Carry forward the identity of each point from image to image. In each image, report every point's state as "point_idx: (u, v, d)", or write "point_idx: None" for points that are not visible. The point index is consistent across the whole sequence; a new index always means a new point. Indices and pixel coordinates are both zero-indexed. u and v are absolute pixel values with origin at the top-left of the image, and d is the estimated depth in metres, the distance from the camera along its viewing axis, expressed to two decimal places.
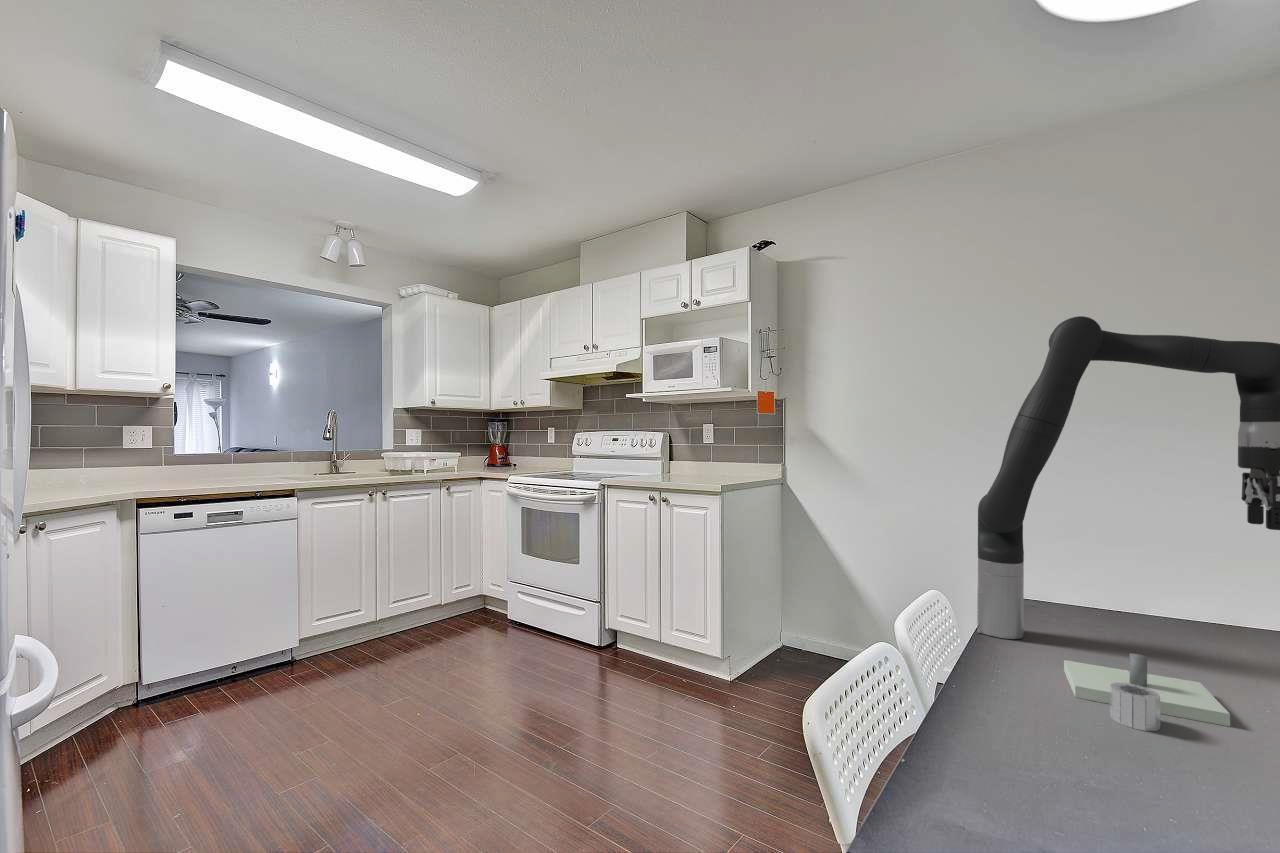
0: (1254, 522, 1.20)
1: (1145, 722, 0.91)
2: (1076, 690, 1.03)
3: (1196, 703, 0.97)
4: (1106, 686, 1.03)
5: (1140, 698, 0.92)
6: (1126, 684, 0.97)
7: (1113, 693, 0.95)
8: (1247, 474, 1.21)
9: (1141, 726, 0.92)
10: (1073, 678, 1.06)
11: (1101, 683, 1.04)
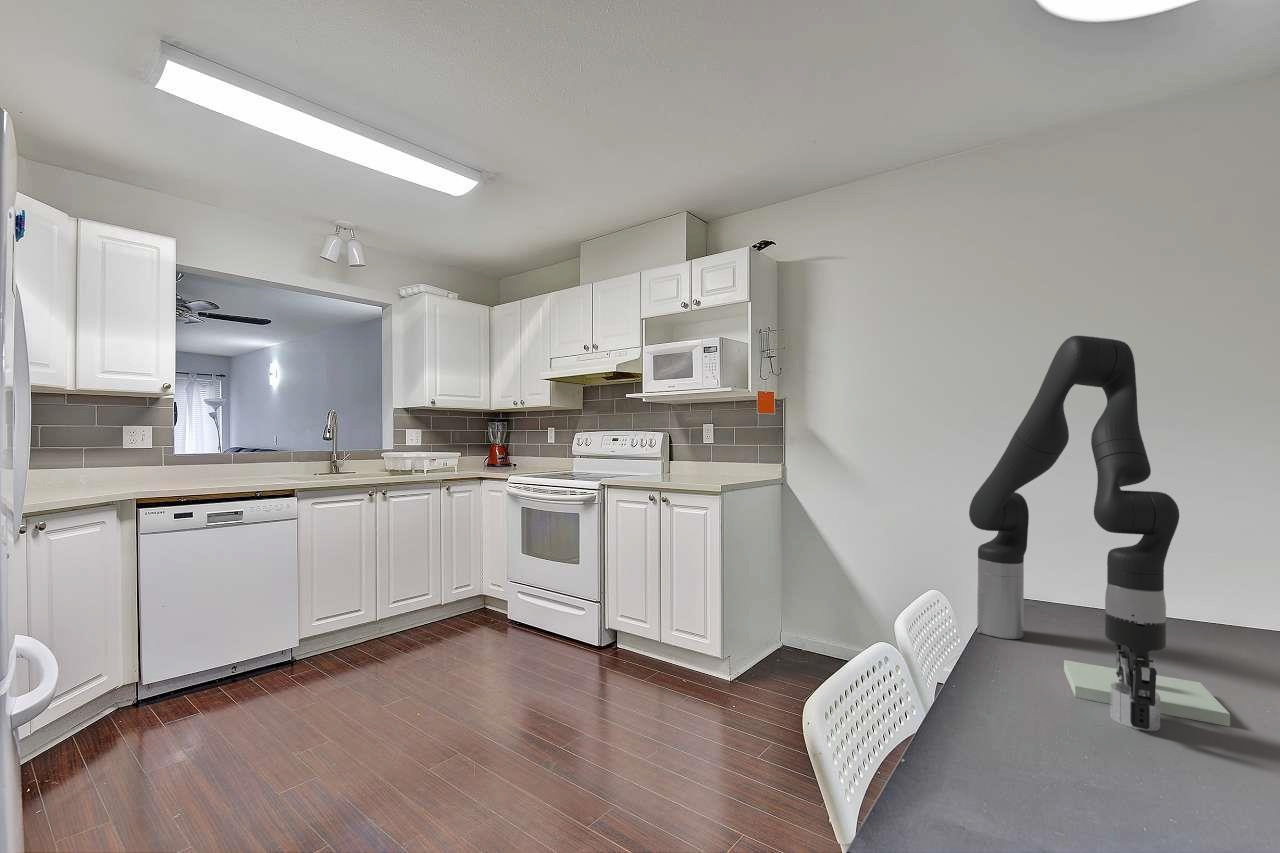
0: None
1: None
2: (1076, 690, 1.03)
3: (1196, 703, 0.97)
4: (1106, 686, 1.03)
5: None
6: None
7: (1113, 693, 0.95)
8: None
9: None
10: (1073, 678, 1.06)
11: (1101, 683, 1.04)
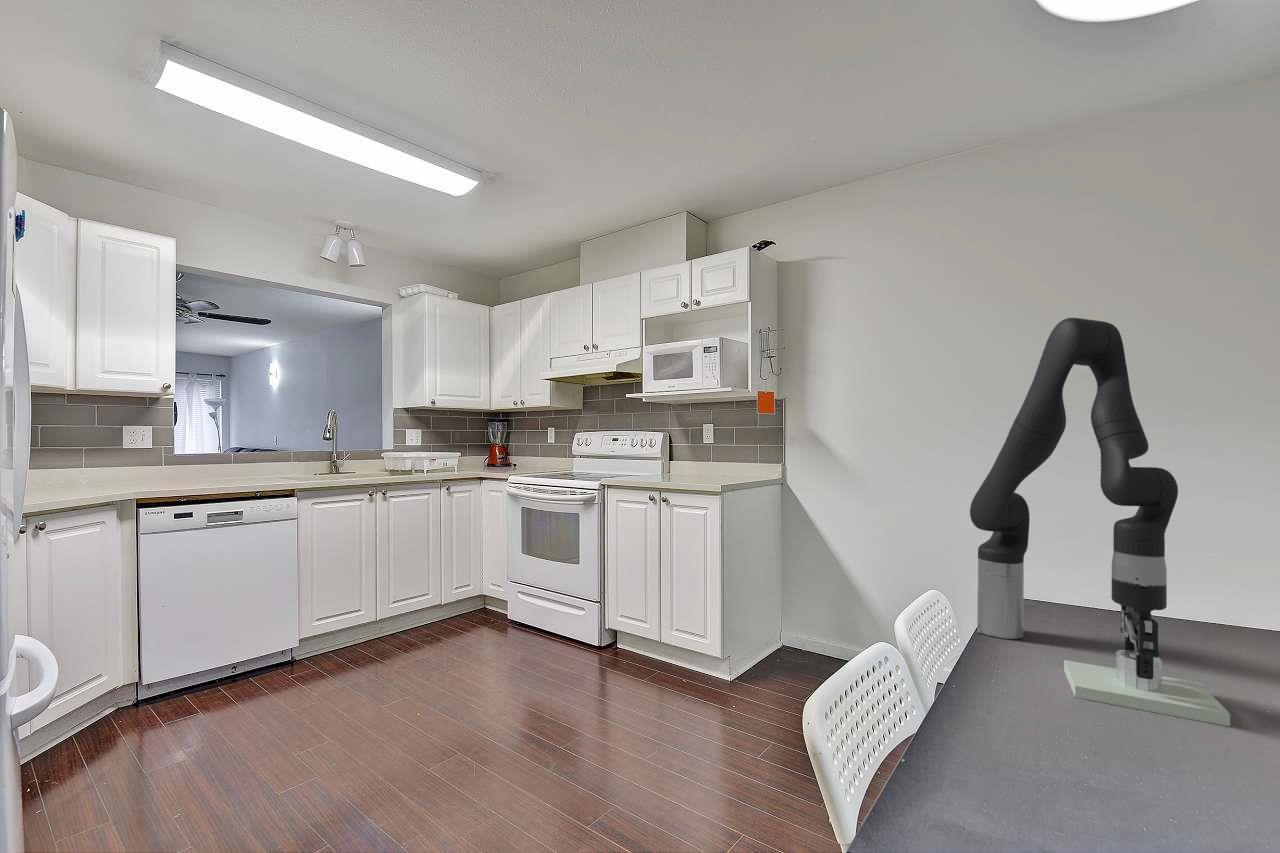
0: None
1: (1148, 683, 1.01)
2: (1076, 690, 1.03)
3: (1196, 703, 0.97)
4: (1106, 686, 1.03)
5: None
6: (1131, 651, 1.07)
7: (1119, 658, 1.05)
8: None
9: (1144, 687, 1.02)
10: (1073, 678, 1.06)
11: (1101, 683, 1.04)
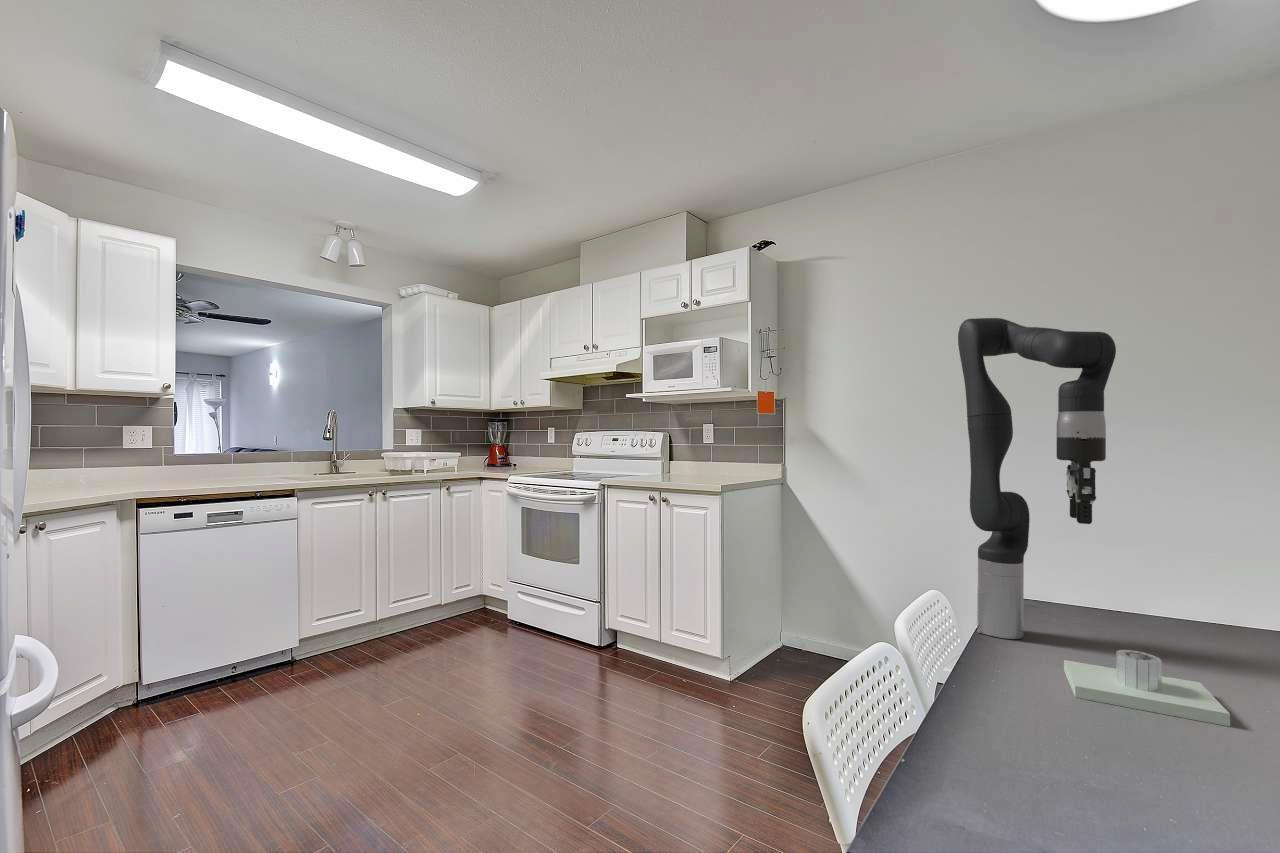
0: (1075, 516, 1.15)
1: (1148, 683, 1.01)
2: (1076, 690, 1.03)
3: (1196, 703, 0.97)
4: (1106, 686, 1.03)
5: (1143, 662, 1.02)
6: (1131, 651, 1.07)
7: (1119, 658, 1.05)
8: (1071, 466, 1.17)
9: (1144, 687, 1.02)
10: (1073, 678, 1.06)
11: (1101, 683, 1.04)
